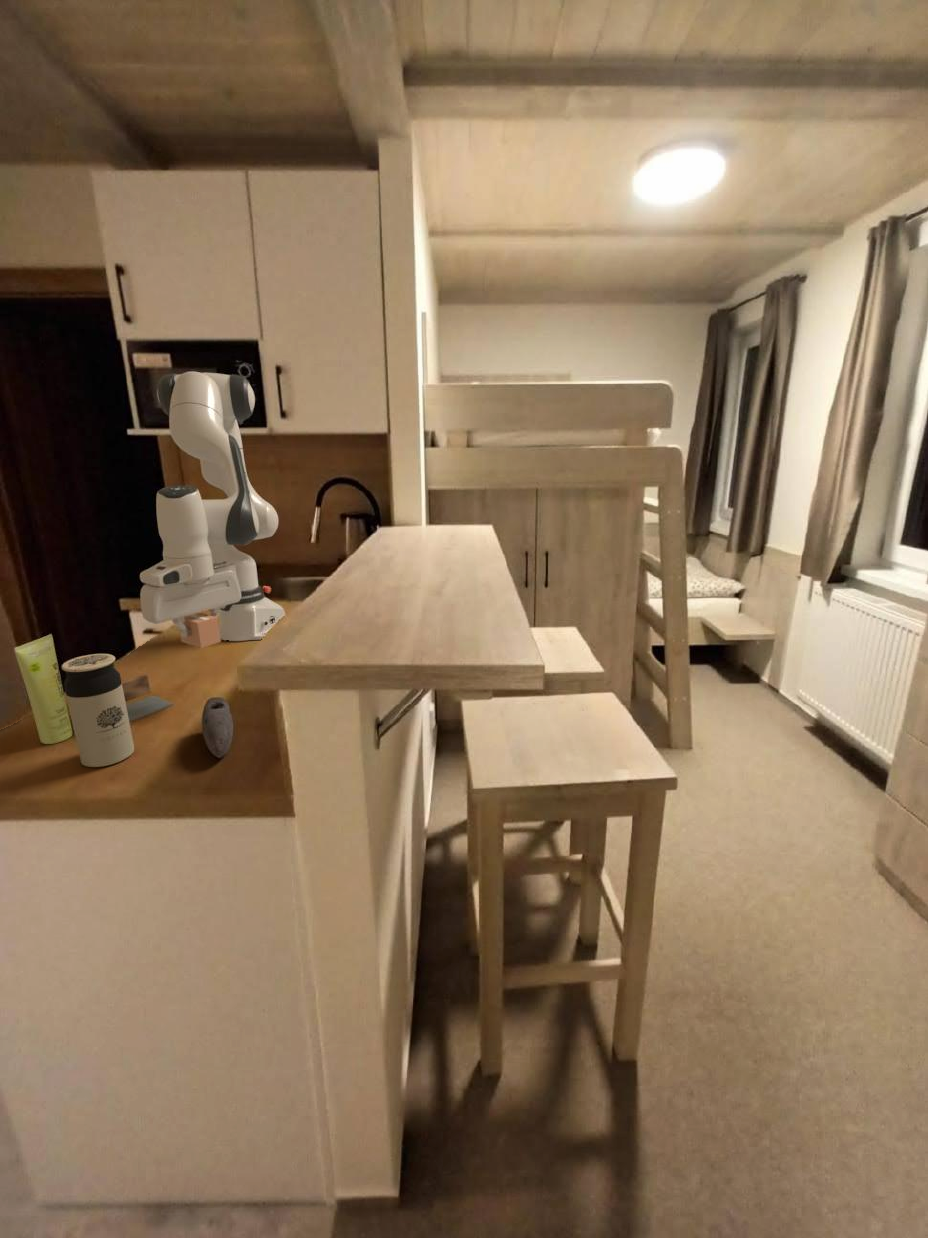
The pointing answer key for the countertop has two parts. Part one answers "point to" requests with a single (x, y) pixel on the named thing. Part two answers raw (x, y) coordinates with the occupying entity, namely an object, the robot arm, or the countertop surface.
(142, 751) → the countertop surface
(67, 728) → the tube
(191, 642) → the terracotta block
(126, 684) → the walnut corner walls
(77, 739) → the travel mug
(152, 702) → the slate pad
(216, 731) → the perforated stone tool
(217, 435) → the robot arm
